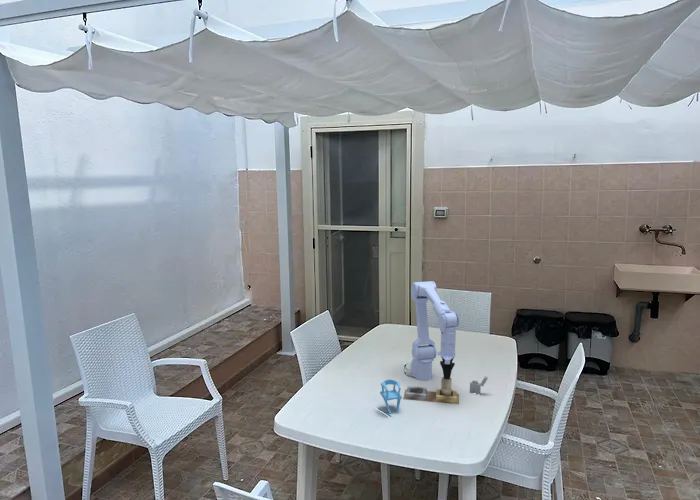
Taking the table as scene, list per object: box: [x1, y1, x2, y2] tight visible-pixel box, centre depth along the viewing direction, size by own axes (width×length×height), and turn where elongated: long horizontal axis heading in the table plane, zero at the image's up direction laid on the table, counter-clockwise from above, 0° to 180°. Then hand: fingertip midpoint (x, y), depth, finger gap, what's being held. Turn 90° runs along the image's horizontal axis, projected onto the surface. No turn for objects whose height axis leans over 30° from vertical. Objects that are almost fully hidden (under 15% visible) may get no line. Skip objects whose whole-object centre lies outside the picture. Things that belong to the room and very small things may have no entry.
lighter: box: [469, 375, 489, 395], centre depth 208 cm, size 7×2×8 cm, turn 63°
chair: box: [377, 379, 403, 418], centre depth 191 cm, size 8×8×12 cm
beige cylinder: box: [440, 376, 453, 396], centre depth 202 cm, size 4×4×8 cm
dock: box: [402, 385, 460, 405], centre depth 203 cm, size 22×10×3 cm, turn 79°
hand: (447, 375), depth 201 cm, fingers open, 7 cm apart
